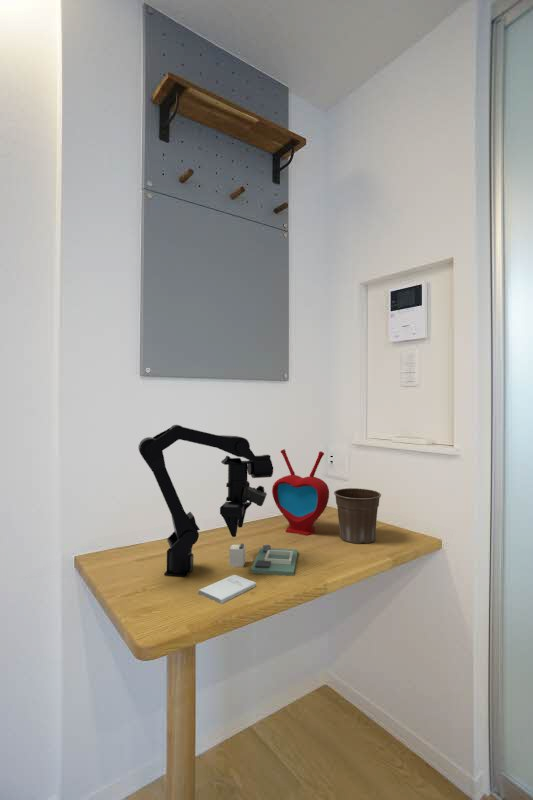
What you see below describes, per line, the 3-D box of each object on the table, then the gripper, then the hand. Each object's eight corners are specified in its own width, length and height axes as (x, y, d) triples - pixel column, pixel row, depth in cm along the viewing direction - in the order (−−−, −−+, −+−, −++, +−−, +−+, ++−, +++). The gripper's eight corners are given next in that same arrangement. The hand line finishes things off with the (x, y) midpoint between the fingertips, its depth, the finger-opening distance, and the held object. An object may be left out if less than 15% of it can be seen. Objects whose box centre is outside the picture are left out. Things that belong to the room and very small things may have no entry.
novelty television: (269, 530, 154) (269, 450, 154) (283, 522, 165) (284, 447, 166) (321, 539, 144) (321, 453, 145) (333, 529, 156) (333, 450, 156)
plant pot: (373, 549, 134) (373, 500, 134) (327, 541, 142) (327, 494, 142) (386, 536, 148) (386, 491, 148) (343, 529, 156) (343, 486, 156)
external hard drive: (198, 596, 102) (233, 579, 112) (221, 606, 97) (255, 588, 106) (198, 589, 102) (233, 573, 112) (221, 599, 97) (256, 581, 106)
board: (250, 573, 115) (250, 563, 115) (260, 550, 133) (260, 542, 133) (293, 575, 113) (293, 566, 113) (297, 552, 131) (297, 544, 131)
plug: (229, 566, 120) (229, 547, 120) (232, 561, 124) (232, 542, 124) (242, 567, 119) (242, 547, 119) (245, 562, 123) (245, 543, 123)
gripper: (259, 485, 111) (259, 543, 111) (268, 474, 130) (268, 524, 130) (219, 484, 113) (219, 541, 113) (234, 473, 131) (233, 522, 131)
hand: (237, 531), depth 121 cm, fingers open, 9 cm apart
